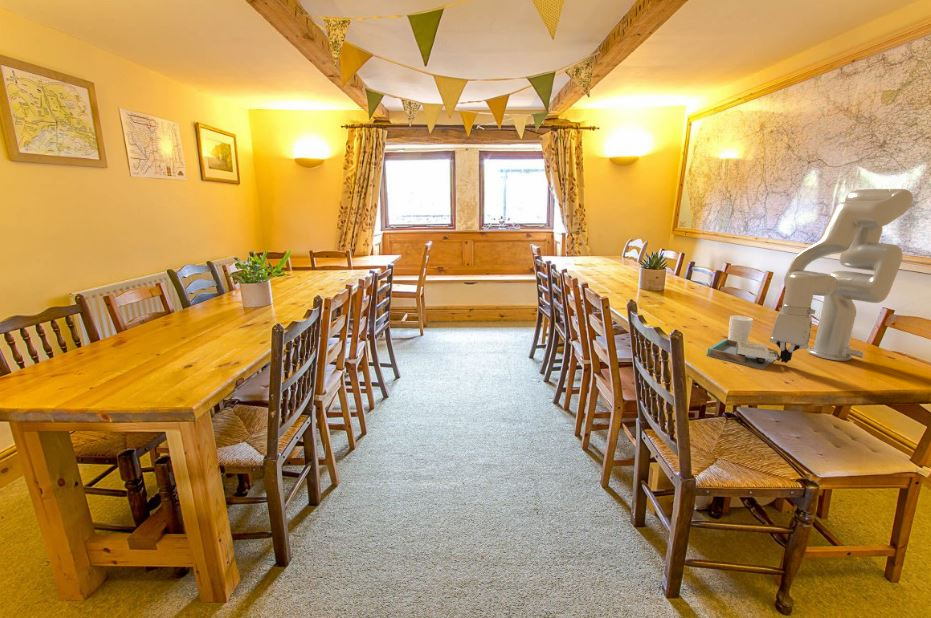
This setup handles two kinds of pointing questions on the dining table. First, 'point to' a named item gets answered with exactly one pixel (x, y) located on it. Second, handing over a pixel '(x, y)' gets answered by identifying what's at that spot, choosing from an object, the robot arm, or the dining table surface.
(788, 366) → the dining table surface
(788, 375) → the dining table surface
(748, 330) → the white cup
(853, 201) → the robot arm
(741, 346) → the trolley
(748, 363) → the dock
